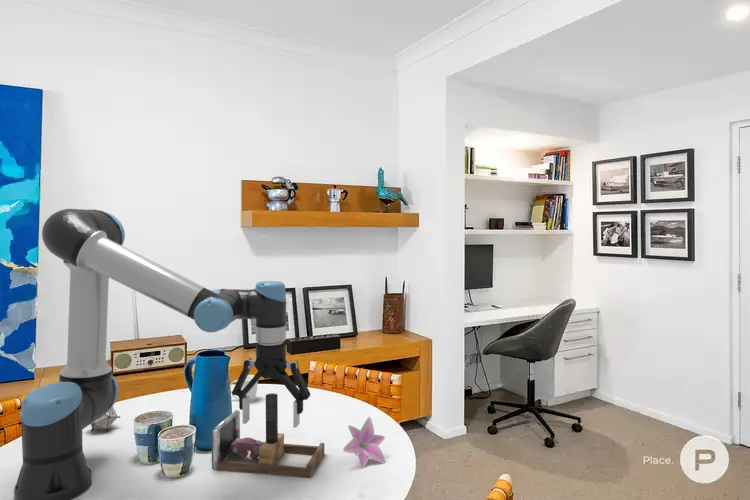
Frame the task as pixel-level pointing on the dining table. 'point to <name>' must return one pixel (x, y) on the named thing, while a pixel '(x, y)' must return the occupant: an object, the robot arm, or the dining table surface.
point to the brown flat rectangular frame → (280, 469)
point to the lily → (365, 443)
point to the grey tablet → (224, 437)
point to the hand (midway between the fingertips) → (271, 423)
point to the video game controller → (246, 447)
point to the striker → (271, 433)
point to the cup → (252, 390)
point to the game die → (105, 420)
